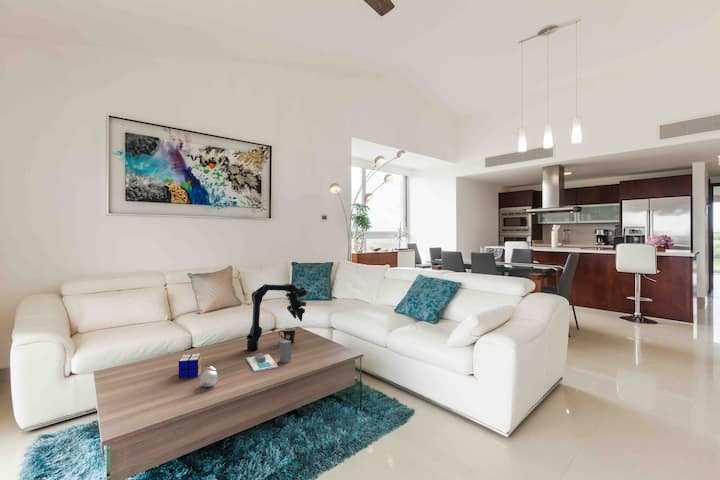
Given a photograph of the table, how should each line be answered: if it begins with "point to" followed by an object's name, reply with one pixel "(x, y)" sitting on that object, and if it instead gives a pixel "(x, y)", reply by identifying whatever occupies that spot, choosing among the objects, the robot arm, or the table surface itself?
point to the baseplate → (261, 362)
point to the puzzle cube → (190, 366)
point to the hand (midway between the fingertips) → (298, 319)
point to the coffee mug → (289, 334)
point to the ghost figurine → (209, 377)
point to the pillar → (284, 351)
